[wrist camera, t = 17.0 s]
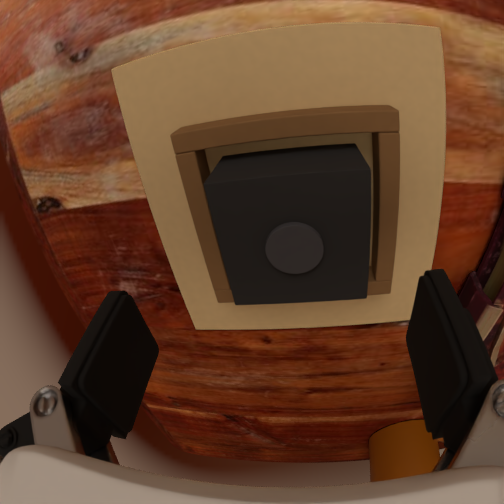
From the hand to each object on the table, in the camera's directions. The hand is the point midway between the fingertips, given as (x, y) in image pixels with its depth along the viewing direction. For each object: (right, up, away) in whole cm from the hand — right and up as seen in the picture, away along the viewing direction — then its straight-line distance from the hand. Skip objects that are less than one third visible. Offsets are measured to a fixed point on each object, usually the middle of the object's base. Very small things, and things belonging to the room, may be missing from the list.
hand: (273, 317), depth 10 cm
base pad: (+2, +5, +7) cm, 9 cm away
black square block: (+2, +4, +6) cm, 8 cm away
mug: (+20, -21, +22) cm, 36 cm away
